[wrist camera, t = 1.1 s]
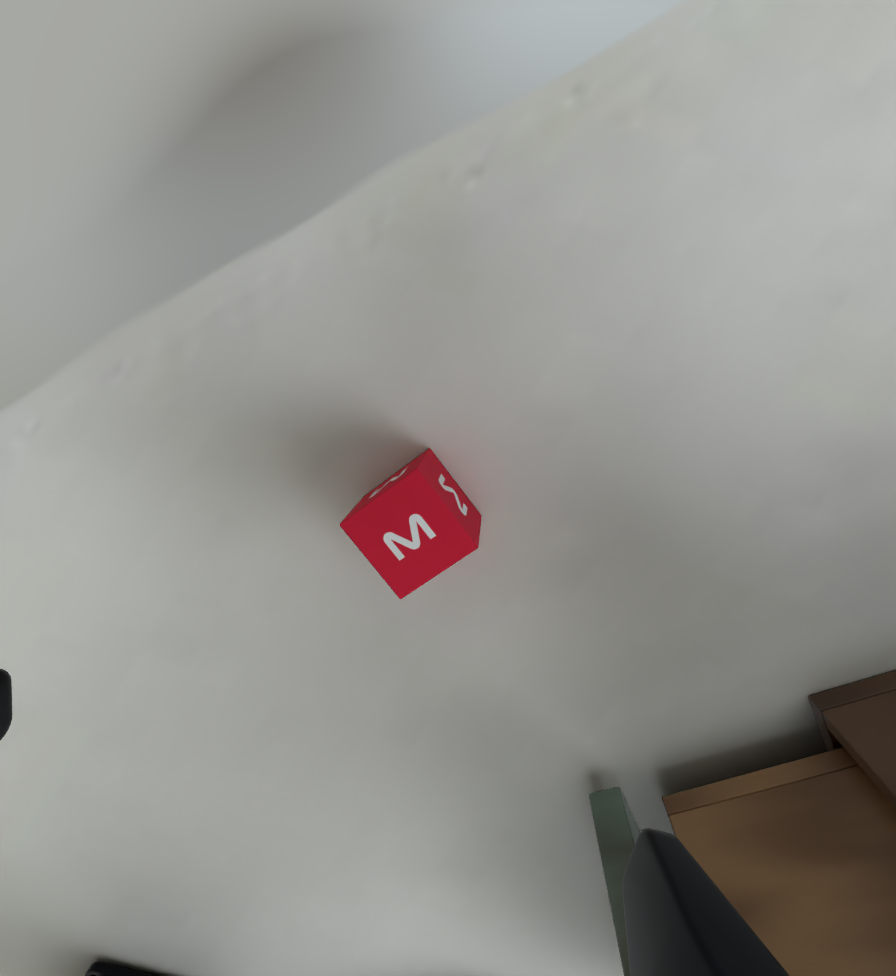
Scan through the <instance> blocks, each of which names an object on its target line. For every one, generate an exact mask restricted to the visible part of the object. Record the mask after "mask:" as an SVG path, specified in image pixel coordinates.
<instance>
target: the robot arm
mask: <svg viewBox="0 0 896 976" xmlns="http://www.w3.org/2000/svg"><path fill="white" fill-rule="evenodd" d="M11 721H12V687H11V676H10V675H9V673H8V672H7V671H5V670H3V669H0V740H1V739H2V738H3V737H4V735H5V734H6V732H7V731H8V729H9V726H10V724H11ZM622 892H623V904H624V915H625V926H626V937H627V948H628V959H629V971H630V976H789V974H788V973H787V972H786V971H785V969H784V968H783V967H782V966H781V965H780V963H779V962H778V961H777V960H776V958H775V957H774V956H773V955H772V953H771V952H770V951H769V950H768V949H767V947H766V946H765V945H764V944H763V942H762V941H761V940H760V939H759V937H758V936H757V935H756V934H755V933H754V931H753V930H752V929H751V928H750V926H749V925H748V924H747V923H746V921H745V920H744V919H743V918H742V917H741V915H740V914H739V913H738V912H737V910H736V909H735V908H734V907H733V905H732V904H731V903H730V902H729V901H728V899H727V898H726V897H725V896H724V894H723V893H722V892H721V891H720V889H719V888H718V887H717V886H716V885H715V883H714V882H713V881H712V880H711V878H710V877H709V876H708V875H707V874H706V872H705V871H704V870H703V869H702V867H701V866H700V865H699V864H698V862H697V861H696V860H695V859H694V858H693V856H692V855H691V854H690V853H689V851H688V850H687V849H686V848H685V846H684V845H683V844H682V843H681V842H680V840H679V839H678V838H677V837H675V836H674V835H672V834H670V833H666V832H662V831H658V830H654V829H649V828H647V829H643V830H642V831H641V832H640V834H639V836H638V838H637V841H636V843H635V846H634V848H633V851H632V853H631V856H630V858H629V861H628V863H627V866H626V868H625V871H624V875H623V883H622ZM85 976H153V975H149V974H145V973H141V972H138V971H134V970H130V969H126V968H122V967H118V966H114V965H110V964H106V963H103V962H94V963H93V964H92V965H91V966H90V968H89V969H88V971H87V972H86V974H85Z"/></svg>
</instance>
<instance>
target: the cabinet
mask: <svg viewBox="0 0 896 976" xmlns="http://www.w3.org/2000/svg"><path fill="white" fill-rule="evenodd" d="M809 699H810V702H811V705H812V708H813V711H814V714H815V717H816V720H817V722H818V725H819V728H820V731H821V734H822V737H823V740H824V743H825V746H826V749H827V752H828V751H832V750H835V749H839V748H843V747H844V748H845V749H846V751H847V752H848V753H849V754H850V755H851V757H852V758H853V759H854V760H855V761H856V763H857V764H858V765H859V766H860V767H861V768H862V770H863V771H864V772H865V773H866V774H867V776H868V777H869V778H870V779H871V780H872V781H873V783H874V784H875V785H876V786H877V787H878V789H879V790H880V791H881V792H882V793H883V794H884V796H885V797H886V798H887V799H888V800H889V802H890V803H891V804H892V805H893V806H894V808H895V809H896V670H895V671H892V672H888V673H885V674H881V675H878V676H875V677H871V678H868V679H864V680H861V681H858V682H854V683H851V684H847V685H844V686H841V687H837V688H834V689H830V690H827V691H824V692H820V693H817V694H814V695H810V696H809Z"/></svg>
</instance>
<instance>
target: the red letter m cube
mask: <svg viewBox="0 0 896 976" xmlns="http://www.w3.org/2000/svg"><path fill="white" fill-rule="evenodd" d="M480 525H481V514H480V513H479V512H478V510H477V509H476V508H475V507H474V505H473V504H472V503H471V501H470V500H469V499H468V497H467V496H466V495H465V493H464V492H463V491H462V489H461V488H460V487H459V486H458V484H457V483H456V482H455V480H454V479H453V478H452V476H451V475H450V474H449V472H448V471H447V470H446V469H445V467H444V466H443V465H442V463H441V462H440V461H439V459H438V458H437V457H436V455H435V454H434V453H433V451H432V450H431V449H430V448H429V449H428V450H426V451H425V452H423V453H422V454H421V455H419V456H418V457H417V458H415V459H414V460H413V461H411V462H410V463H409V464H407V465H406V466H404V467H403V468H402V469H400V470H399V471H398V472H396V473H395V474H394V475H392V476H391V477H390V478H388V479H387V480H386V481H384V482H383V483H381V484H380V485H379V486H377V487H376V488H375V489H373V490H372V491H371V492H369V493H368V494H367V495H365V496H364V497H363V498H362V499H361V500H360V501H359V503H358V504H357V505H356V506H355V507H354V508H353V509H352V511H351V512H350V513H349V514H348V515H347V516H346V517H345V519H344V520H343V521H342V522H341V523H340V526H341V528H342V529H343V530H344V531H345V532H346V534H347V535H348V536H349V537H350V539H351V540H352V541H353V542H354V543H355V545H356V546H357V547H358V548H359V550H360V551H361V552H362V553H363V554H364V556H365V557H366V558H367V559H368V561H369V562H370V563H371V564H372V565H373V567H374V568H375V569H376V570H377V572H378V573H379V574H380V575H381V576H382V578H383V579H384V580H385V581H386V583H387V584H388V585H389V586H390V587H391V589H392V590H393V591H394V592H395V593H396V595H397V596H398V597H399V598H400V599H402V598H403V597H405V596H406V595H408V594H409V593H411V592H412V591H414V590H415V589H417V588H418V587H420V586H421V585H423V584H424V583H426V582H427V581H429V580H430V579H432V578H433V577H435V576H436V575H438V574H439V573H441V572H442V571H444V570H445V569H447V568H449V567H450V566H452V565H453V564H455V563H456V562H458V561H459V560H461V559H462V558H464V557H465V556H467V555H468V554H470V553H471V552H473V551H474V550H476V549H477V548H478V544H479V534H480Z"/></svg>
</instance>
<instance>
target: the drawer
mask: <svg viewBox="0 0 896 976" xmlns="http://www.w3.org/2000/svg"><path fill="white" fill-rule="evenodd" d="M589 799H590V804H591V809H592V814H593V819H594V824H595V829H596V834H597V839H598V845H599V850H600V855H601V860H602V865H603V870H604V875H605V880H606V885H607V891H608V896H609V901H610V906H611V911H612V916H613V921H614V926H615V931H616V936H617V942H618V947H619V952H620V957H621V962H622V967H623V972H624V976H630V971H629V959H628V948H627V937H626V926H625V915H624V904H623V892H622V883H623V875H624V871H625V868H626V866H627V863H628V861H629V858H630V856H631V853H632V851H633V848H634V846H635V843H636V841H637V838H638V836H639V834H640V832H639V829H638V827H637V825H636V823H635V821H634V818H633V816H632V814H631V812H630V809H629V807H628V805H627V803H626V801H625V798H624V796H623V794H622V792H621V790H620V788H619V787H618V786H616V787H612V788H609V789H605V790H602V791H598V792H595V793H591V794H589ZM662 800H663V803H664V805H665V808H666V811H667V814H668V816H669V819H670V822H671V825H672V828H673V831H674V833H675V836H676V837H677V838H678V839H679V840H680V842H681V843H682V844H683V845H684V846H685V848H686V849H687V850H688V851H689V853H690V854H691V855H692V856H693V858H694V859H695V860H696V861H697V862H698V864H699V865H700V866H701V867H702V869H703V870H704V871H705V872H706V874H707V875H708V876H709V877H710V878H711V880H712V881H713V882H714V883H715V885H716V886H717V887H718V888H719V889H720V891H721V892H722V893H723V894H724V896H725V897H726V898H727V899H728V901H729V902H730V903H731V904H732V905H733V907H734V908H735V909H736V910H737V912H738V913H739V914H740V915H741V917H742V918H743V919H744V920H745V921H746V923H747V924H748V925H749V926H750V928H751V929H752V930H753V931H754V933H755V934H756V935H757V936H758V937H759V939H760V940H761V941H762V942H763V944H764V945H765V946H766V947H767V949H768V950H769V951H770V952H771V953H772V955H773V956H774V957H775V958H776V960H777V961H778V962H779V963H780V965H781V966H782V967H783V968H784V969H785V971H786V972H787V973H788V974H789V976H896V809H895V808H894V806H893V805H892V804H891V803H890V802H889V800H888V799H887V798H886V797H885V796H884V794H883V793H882V792H881V791H880V790H879V789H878V787H877V786H876V785H875V784H874V783H873V781H872V780H871V779H870V778H869V777H868V776H867V774H866V773H865V772H864V771H863V770H862V768H861V767H860V766H859V765H858V764H857V763H856V761H855V760H854V759H853V758H852V757H851V755H850V754H849V753H848V752H847V751H846V749H845V748H844V747H843V748H839V749H835V750H832V751H828V752H824V753H821V754H817V755H813V756H810V757H806V758H802V759H799V760H795V761H791V762H788V763H784V764H780V765H777V766H773V767H770V768H766V769H762V770H759V771H755V772H751V773H748V774H744V775H740V776H737V777H733V778H729V779H726V780H722V781H718V782H715V783H711V784H707V785H704V786H700V787H696V788H693V789H689V790H685V791H682V792H678V793H674V794H671V795H667V796H664V797H662Z"/></svg>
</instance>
